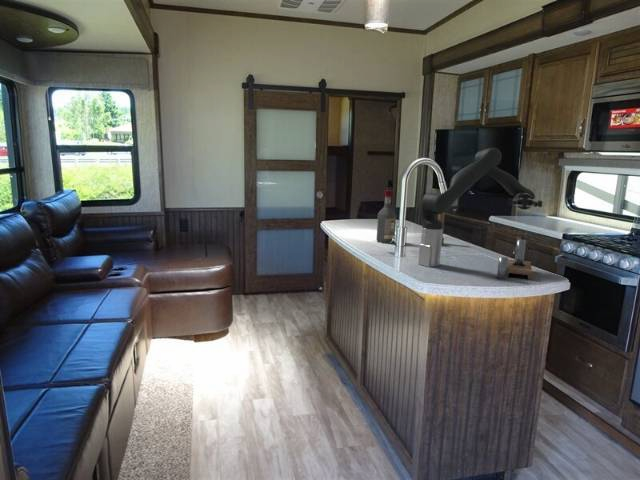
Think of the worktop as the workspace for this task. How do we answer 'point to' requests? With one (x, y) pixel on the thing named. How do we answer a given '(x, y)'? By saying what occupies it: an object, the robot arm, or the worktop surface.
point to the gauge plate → (519, 269)
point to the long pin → (520, 253)
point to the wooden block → (441, 218)
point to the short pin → (502, 268)
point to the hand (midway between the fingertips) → (525, 203)
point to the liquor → (386, 221)
